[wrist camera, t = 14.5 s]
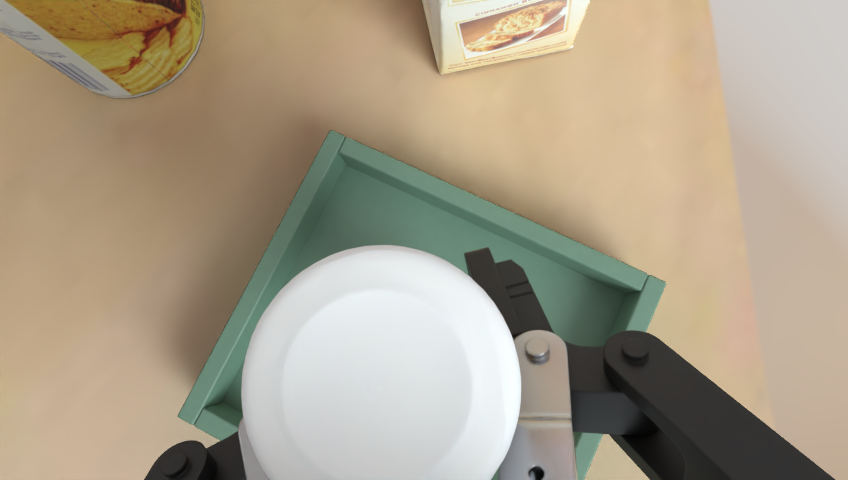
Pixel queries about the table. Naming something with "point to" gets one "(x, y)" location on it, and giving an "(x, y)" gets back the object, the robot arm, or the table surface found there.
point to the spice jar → (381, 372)
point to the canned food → (109, 40)
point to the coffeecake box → (499, 30)
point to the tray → (427, 231)
